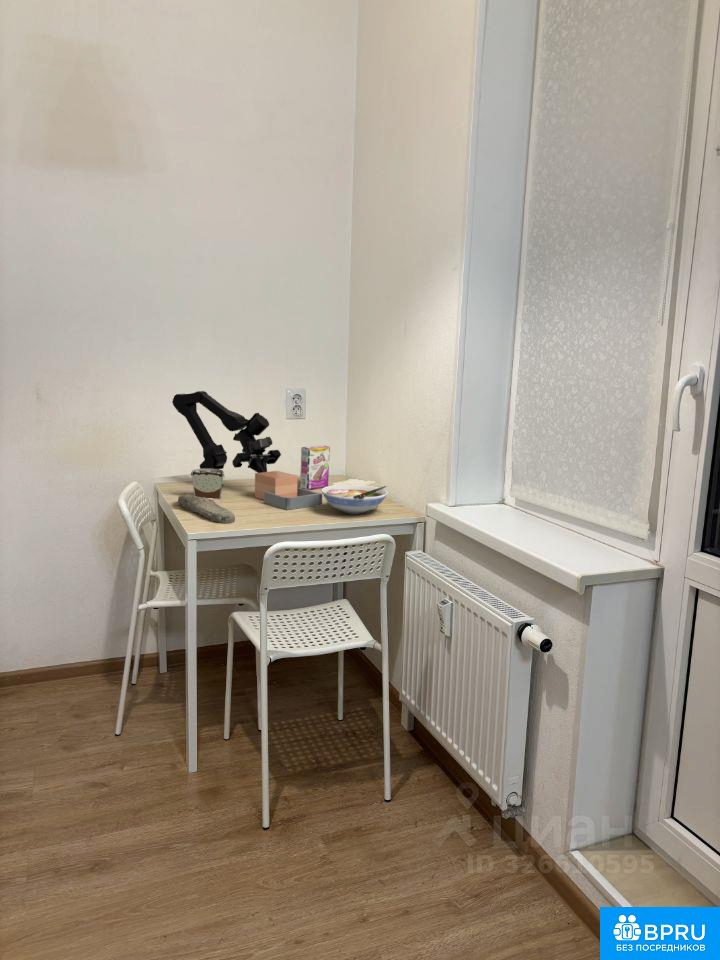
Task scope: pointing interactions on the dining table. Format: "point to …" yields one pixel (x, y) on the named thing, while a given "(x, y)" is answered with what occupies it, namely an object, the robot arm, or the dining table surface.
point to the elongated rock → (206, 508)
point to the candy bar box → (314, 467)
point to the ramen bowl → (354, 497)
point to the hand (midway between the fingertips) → (266, 476)
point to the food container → (207, 482)
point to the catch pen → (294, 499)
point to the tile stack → (275, 484)
